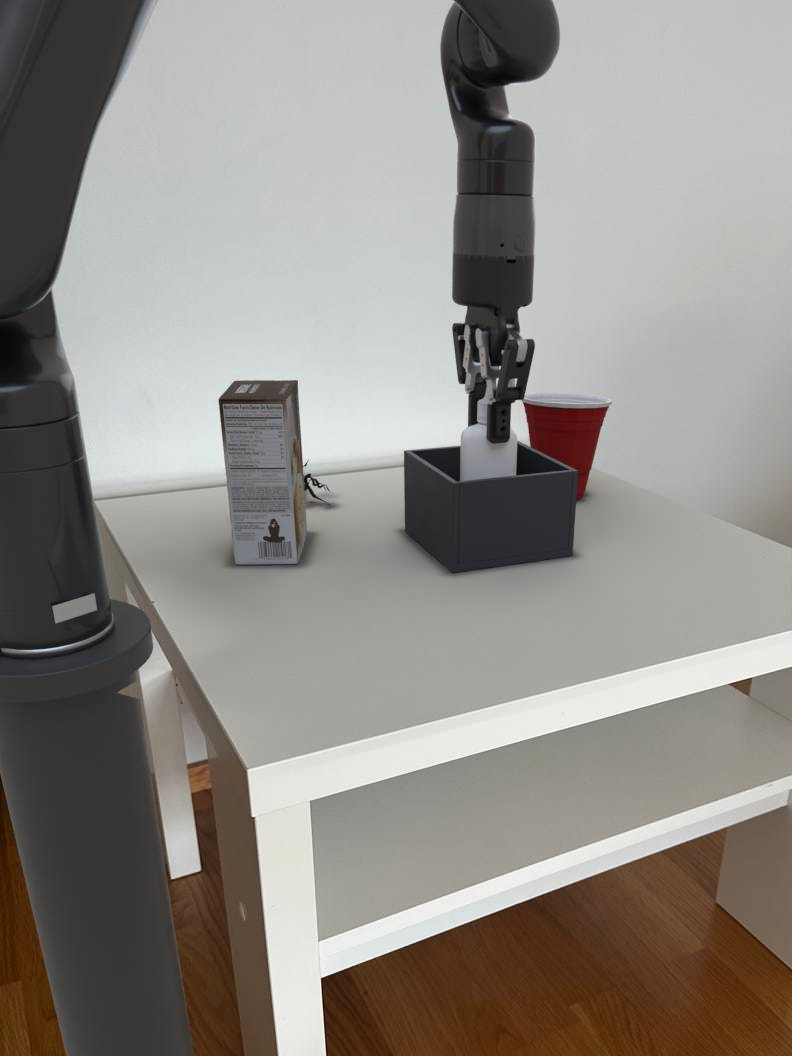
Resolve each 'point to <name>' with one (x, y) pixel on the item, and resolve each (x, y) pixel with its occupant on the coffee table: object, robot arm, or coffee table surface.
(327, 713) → the coffee table surface
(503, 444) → the eye dropper bottle
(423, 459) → the bin
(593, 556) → the coffee table surface
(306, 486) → the creature
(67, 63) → the robot arm
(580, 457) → the plastic cup
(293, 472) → the coffee box
